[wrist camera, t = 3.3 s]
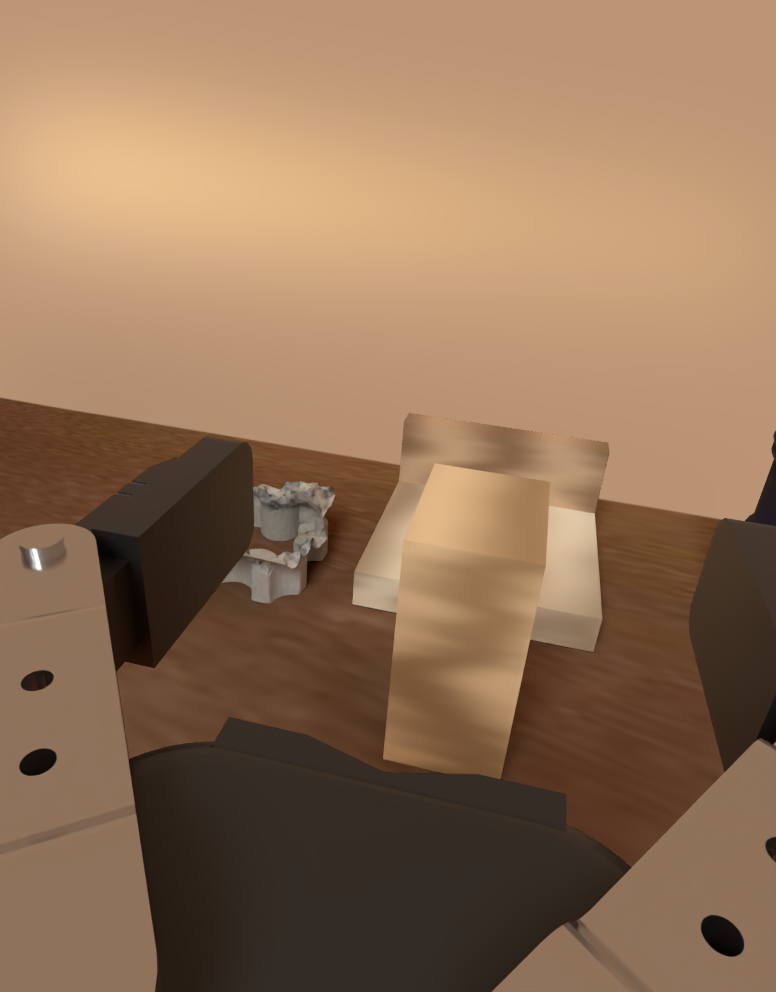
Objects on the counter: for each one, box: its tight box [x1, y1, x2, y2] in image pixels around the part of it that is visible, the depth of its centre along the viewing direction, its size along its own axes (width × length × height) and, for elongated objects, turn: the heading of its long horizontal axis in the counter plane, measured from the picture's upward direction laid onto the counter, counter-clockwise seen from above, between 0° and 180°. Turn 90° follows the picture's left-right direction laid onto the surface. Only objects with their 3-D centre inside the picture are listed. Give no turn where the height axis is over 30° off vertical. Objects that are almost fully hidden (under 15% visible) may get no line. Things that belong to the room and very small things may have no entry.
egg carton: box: [222, 481, 335, 603], centre depth 38 cm, size 11×8×4 cm
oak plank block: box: [383, 463, 550, 779], centre depth 27 cm, size 4×6×10 cm
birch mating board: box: [353, 413, 609, 652], centre depth 38 cm, size 12×12×6 cm
